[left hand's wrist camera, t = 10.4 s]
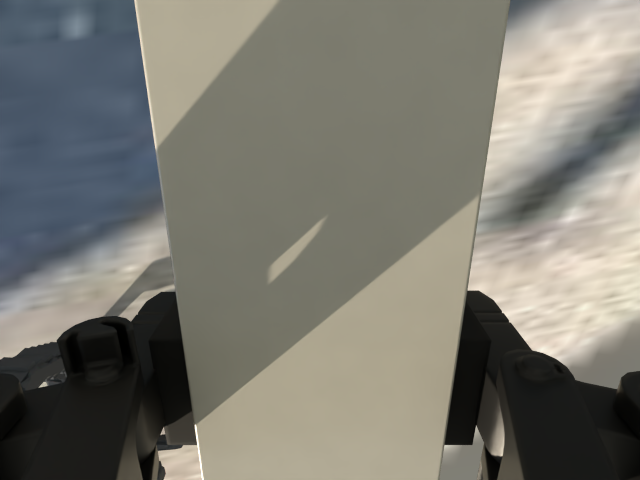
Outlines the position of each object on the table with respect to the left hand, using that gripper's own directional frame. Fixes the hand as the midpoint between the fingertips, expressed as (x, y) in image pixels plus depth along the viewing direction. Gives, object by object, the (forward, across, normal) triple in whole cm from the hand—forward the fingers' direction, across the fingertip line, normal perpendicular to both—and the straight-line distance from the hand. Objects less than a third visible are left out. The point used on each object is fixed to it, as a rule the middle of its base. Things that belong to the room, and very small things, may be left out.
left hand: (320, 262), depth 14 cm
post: (+1, 0, -18) cm, 18 cm away
